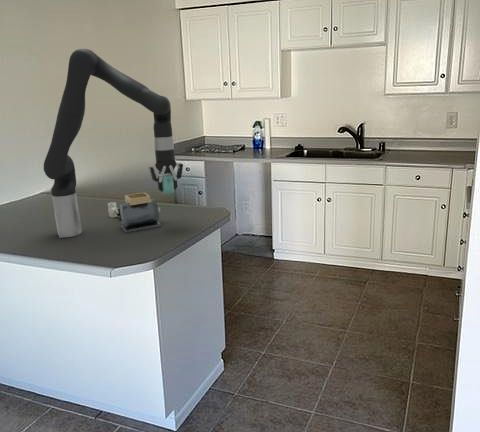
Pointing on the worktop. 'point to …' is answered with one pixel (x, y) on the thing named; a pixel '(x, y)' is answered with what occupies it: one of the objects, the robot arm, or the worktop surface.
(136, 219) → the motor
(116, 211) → the valve
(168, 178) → the mint green rounded block
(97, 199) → the worktop surface
